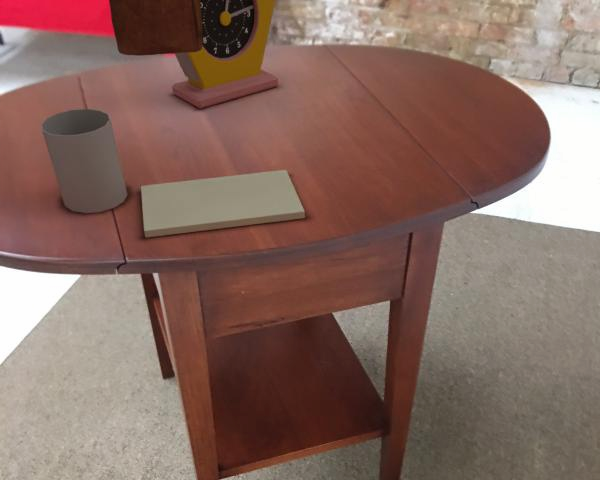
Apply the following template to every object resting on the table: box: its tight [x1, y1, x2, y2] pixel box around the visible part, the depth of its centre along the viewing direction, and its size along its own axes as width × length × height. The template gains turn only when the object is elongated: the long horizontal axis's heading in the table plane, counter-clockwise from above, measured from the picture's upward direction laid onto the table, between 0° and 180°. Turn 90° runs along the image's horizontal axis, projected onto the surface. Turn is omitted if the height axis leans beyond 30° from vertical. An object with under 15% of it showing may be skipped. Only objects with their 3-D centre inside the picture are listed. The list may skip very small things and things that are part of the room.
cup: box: [40, 108, 128, 214], centre depth 81 cm, size 8×8×10 cm
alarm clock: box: [171, 0, 279, 110], centre depth 105 cm, size 22×9×22 cm, turn 128°
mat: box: [140, 169, 306, 238], centre depth 83 cm, size 20×12×1 cm, turn 102°
